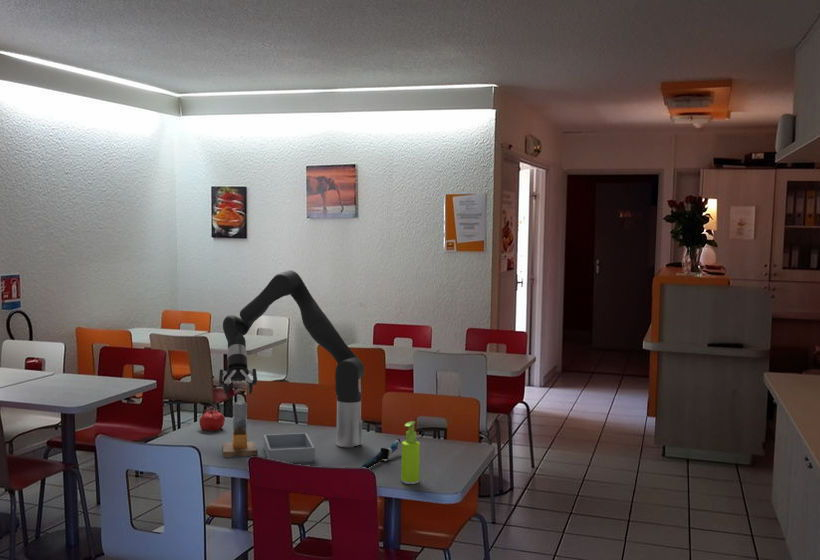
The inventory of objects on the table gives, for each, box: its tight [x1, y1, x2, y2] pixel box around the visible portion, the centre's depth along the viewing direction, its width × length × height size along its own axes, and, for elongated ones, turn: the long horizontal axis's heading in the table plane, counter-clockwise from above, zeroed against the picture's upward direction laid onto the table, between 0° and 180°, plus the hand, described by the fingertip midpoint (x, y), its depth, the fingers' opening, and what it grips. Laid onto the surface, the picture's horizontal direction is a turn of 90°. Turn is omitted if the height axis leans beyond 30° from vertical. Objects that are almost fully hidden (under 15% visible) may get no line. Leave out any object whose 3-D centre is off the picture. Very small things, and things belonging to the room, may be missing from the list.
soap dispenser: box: [400, 420, 421, 482], centre depth 253 cm, size 6×7×20 cm
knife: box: [361, 438, 402, 468], centre depth 273 cm, size 31×3×4 cm, turn 150°
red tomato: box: [199, 406, 226, 432], centre depth 314 cm, size 10×10×9 cm
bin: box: [263, 432, 316, 464], centre depth 281 cm, size 16×21×5 cm
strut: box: [231, 401, 248, 449], centre depth 283 cm, size 5×5×16 cm
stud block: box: [221, 440, 259, 458], centre depth 283 cm, size 12×12×6 cm
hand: (238, 393), depth 292 cm, fingers open, 8 cm apart
